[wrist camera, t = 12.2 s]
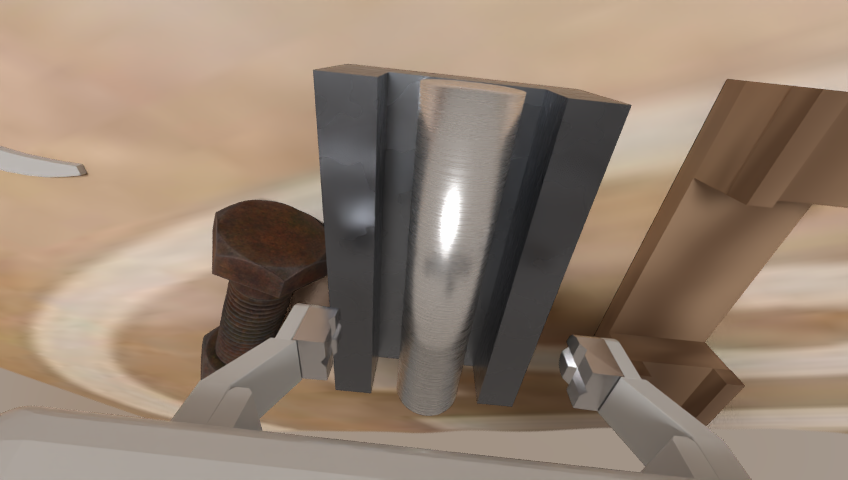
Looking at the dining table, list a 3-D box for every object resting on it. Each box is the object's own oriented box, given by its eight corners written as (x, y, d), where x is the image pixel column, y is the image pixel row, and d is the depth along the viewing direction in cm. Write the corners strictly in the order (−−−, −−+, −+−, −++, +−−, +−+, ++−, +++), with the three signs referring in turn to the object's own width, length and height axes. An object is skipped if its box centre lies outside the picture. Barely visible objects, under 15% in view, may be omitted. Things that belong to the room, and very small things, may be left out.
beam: (867, 94, 14) (1010, 110, 10) (664, 370, 23) (705, 427, 19) (726, 79, 14) (822, 89, 10) (579, 362, 23) (604, 417, 19)
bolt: (248, 343, 26) (293, 192, 19) (289, 389, 25) (355, 246, 17) (165, 390, 21) (181, 211, 14) (211, 450, 20) (255, 288, 13)
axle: (421, 76, 12) (418, 86, 9) (513, 86, 12) (539, 98, 9) (399, 359, 20) (393, 413, 17) (454, 363, 20) (458, 418, 17)
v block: (578, 89, 14) (631, 105, 10) (499, 344, 22) (511, 406, 18) (348, 63, 14) (312, 69, 10) (353, 329, 22) (335, 389, 18)
